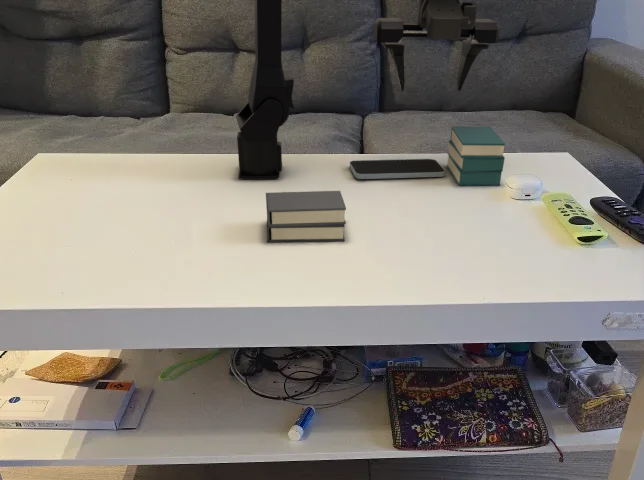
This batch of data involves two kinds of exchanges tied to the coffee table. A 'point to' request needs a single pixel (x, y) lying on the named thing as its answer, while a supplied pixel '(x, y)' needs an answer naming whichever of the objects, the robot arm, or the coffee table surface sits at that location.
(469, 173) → the teal book
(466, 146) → the teal book
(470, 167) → the teal book
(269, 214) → the grey book
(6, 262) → the coffee table surface
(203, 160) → the coffee table surface
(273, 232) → the grey book
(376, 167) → the smartphone
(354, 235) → the coffee table surface
